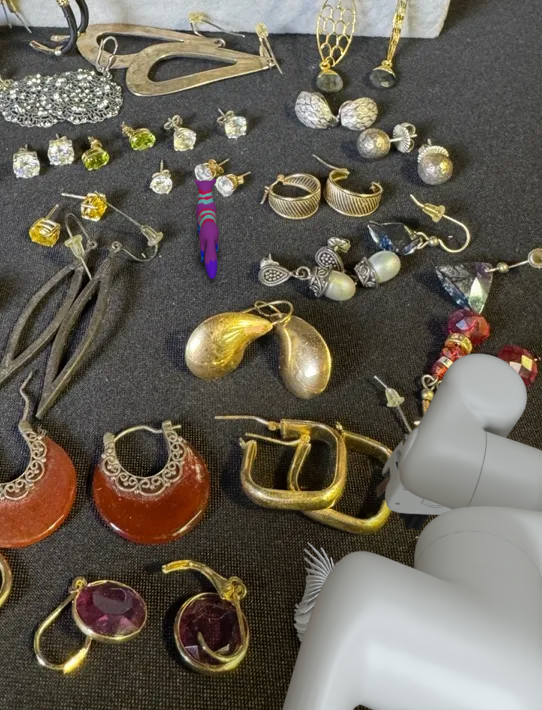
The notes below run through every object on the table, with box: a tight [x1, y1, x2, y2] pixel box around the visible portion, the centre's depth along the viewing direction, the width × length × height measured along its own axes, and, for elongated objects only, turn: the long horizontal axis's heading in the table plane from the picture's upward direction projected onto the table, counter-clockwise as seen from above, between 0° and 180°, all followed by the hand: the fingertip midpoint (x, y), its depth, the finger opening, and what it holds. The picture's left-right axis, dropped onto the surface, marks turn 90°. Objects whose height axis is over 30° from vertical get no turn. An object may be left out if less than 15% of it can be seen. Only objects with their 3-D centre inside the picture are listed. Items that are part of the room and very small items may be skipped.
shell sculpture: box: [293, 542, 338, 643], centre depth 96 cm, size 8×8×18 cm
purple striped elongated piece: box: [194, 178, 220, 280], centre depth 140 cm, size 4×18×10 cm, turn 4°
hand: (410, 517), depth 97 cm, fingers closed
